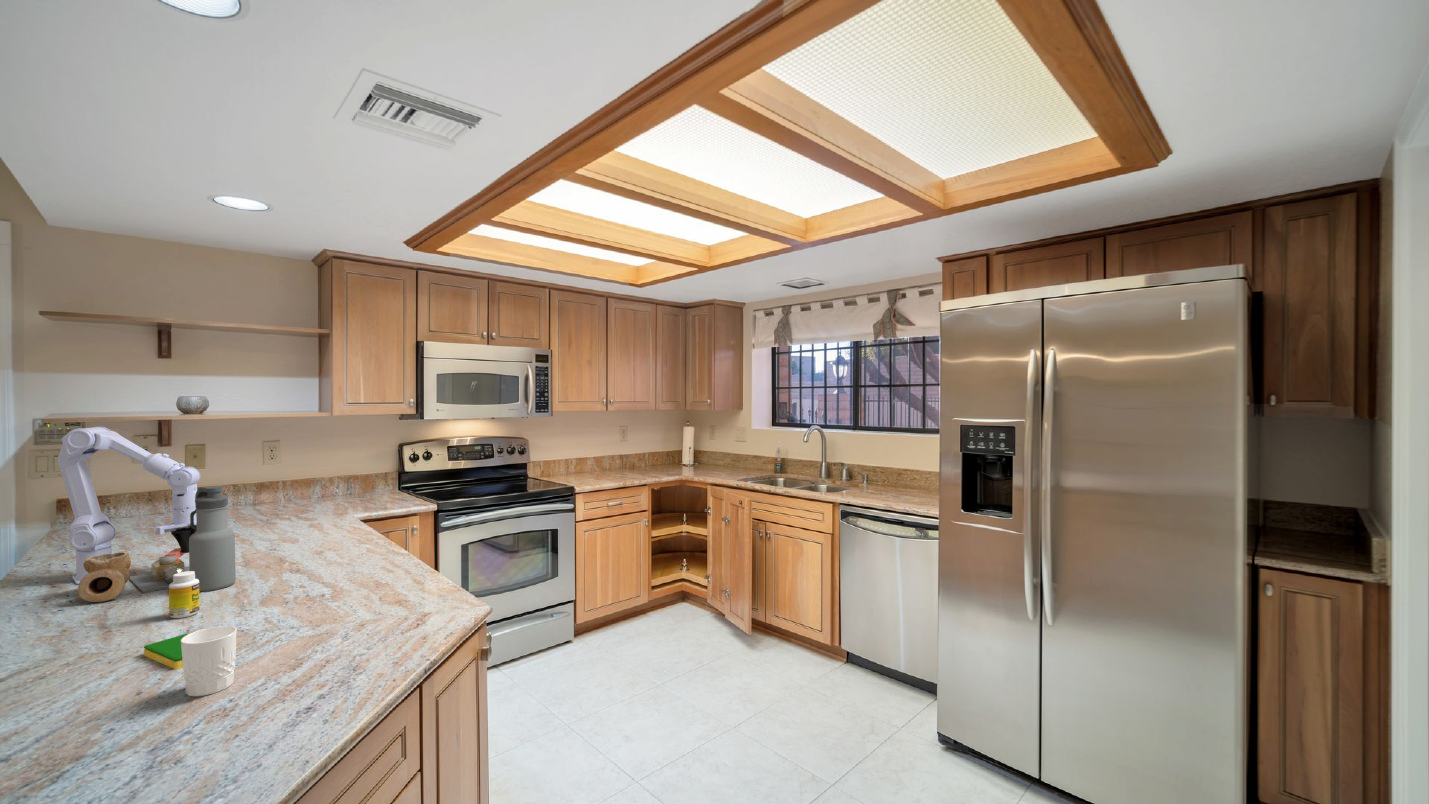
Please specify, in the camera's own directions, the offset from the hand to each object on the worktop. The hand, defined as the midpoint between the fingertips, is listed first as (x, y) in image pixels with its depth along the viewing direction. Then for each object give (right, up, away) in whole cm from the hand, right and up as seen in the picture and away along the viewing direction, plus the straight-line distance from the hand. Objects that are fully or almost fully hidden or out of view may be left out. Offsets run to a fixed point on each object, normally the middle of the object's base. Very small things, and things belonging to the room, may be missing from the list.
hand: (187, 552), depth 179 cm
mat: (+2, -6, -7) cm, 9 cm away
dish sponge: (+49, -8, -56) cm, 75 cm away
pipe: (-3, -7, -21) cm, 22 cm away
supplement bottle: (+30, -7, -35) cm, 46 cm away
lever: (-1, -1, -4) cm, 4 cm away
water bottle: (+19, -6, -14) cm, 25 cm away
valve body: (+1, -6, -7) cm, 9 cm away
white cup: (+66, -8, -70) cm, 96 cm away
